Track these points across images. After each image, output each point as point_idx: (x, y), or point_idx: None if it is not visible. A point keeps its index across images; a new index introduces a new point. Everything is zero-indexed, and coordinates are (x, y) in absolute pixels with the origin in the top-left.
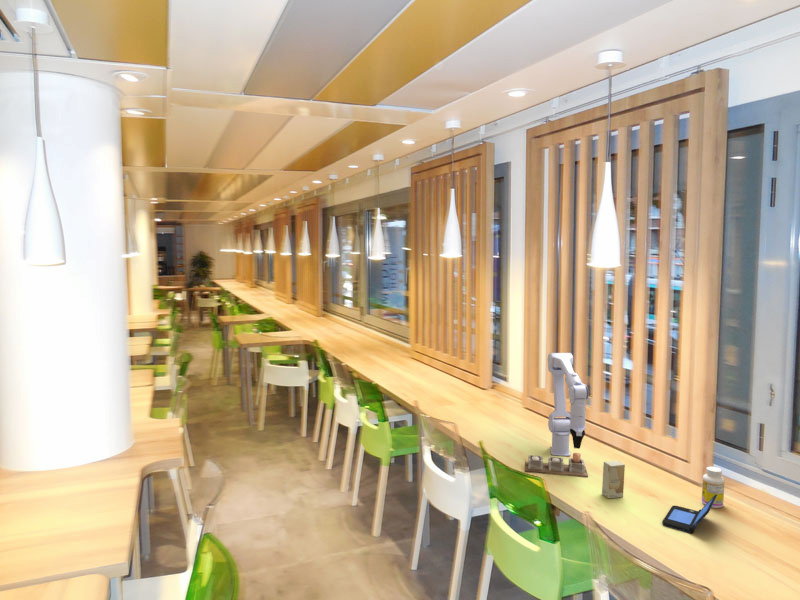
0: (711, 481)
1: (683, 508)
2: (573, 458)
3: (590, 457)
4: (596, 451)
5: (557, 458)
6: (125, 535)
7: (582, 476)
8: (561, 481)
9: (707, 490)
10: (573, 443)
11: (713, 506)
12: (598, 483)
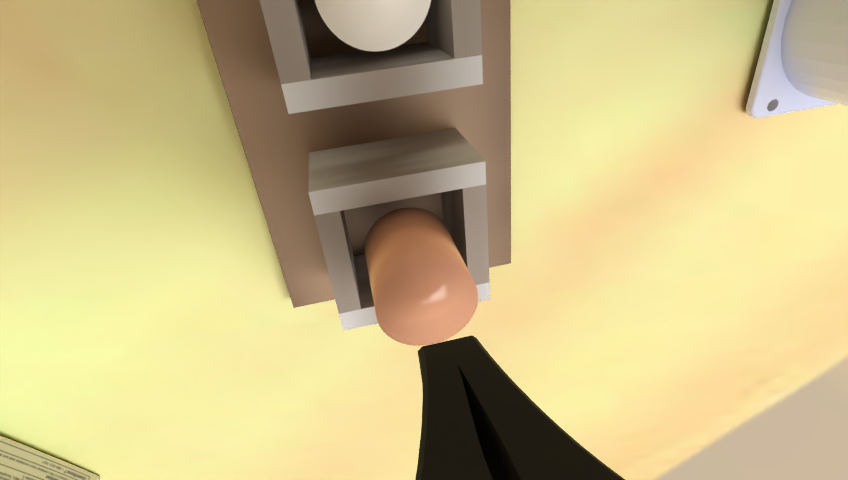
0: None
1: None
2: (386, 245)
3: (717, 264)
4: (823, 284)
5: (417, 11)
6: None
7: (281, 263)
8: (15, 82)
9: None
10: (432, 403)
11: None
12: (201, 375)
